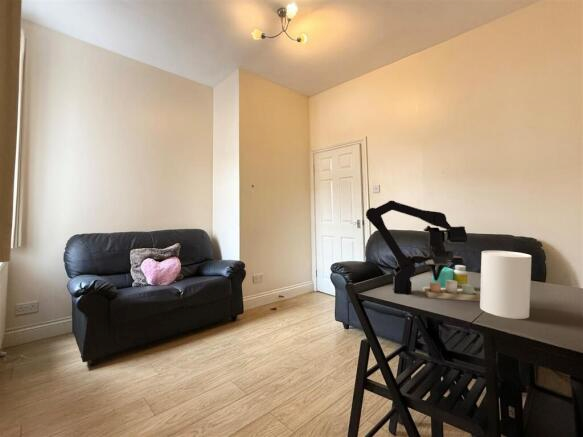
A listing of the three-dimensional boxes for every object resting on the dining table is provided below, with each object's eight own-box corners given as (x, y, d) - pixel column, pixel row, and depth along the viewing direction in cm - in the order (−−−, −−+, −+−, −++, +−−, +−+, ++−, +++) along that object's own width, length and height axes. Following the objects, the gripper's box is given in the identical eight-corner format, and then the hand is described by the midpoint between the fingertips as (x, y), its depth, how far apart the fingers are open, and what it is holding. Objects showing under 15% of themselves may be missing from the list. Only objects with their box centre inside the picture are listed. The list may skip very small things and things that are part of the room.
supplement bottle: (469, 289, 120) (469, 267, 120) (455, 289, 122) (455, 266, 121) (463, 286, 126) (464, 264, 125) (450, 285, 127) (451, 264, 126)
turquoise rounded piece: (431, 286, 125) (432, 269, 125) (433, 282, 132) (433, 266, 132) (452, 289, 121) (452, 271, 121) (452, 285, 128) (453, 268, 127)
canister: (503, 303, 104) (505, 250, 103) (540, 317, 90) (542, 256, 89) (470, 305, 102) (472, 251, 101) (503, 319, 88) (506, 257, 88)
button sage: (464, 296, 110) (464, 286, 110) (460, 293, 114) (460, 283, 114) (475, 297, 109) (475, 287, 109) (471, 294, 113) (471, 284, 113)
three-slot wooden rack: (428, 297, 110) (428, 293, 110) (423, 290, 120) (423, 286, 120) (482, 301, 106) (483, 297, 106) (472, 293, 115) (473, 289, 115)
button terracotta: (430, 294, 113) (431, 284, 113) (428, 291, 117) (428, 281, 117) (441, 294, 112) (442, 285, 112) (439, 291, 116) (439, 282, 116)
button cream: (447, 292, 111) (447, 282, 111) (444, 289, 115) (444, 279, 115) (458, 292, 110) (458, 282, 110) (455, 289, 114) (455, 280, 114)
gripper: (415, 244, 108) (414, 284, 109) (469, 246, 103) (468, 287, 104) (410, 241, 119) (410, 277, 119) (459, 242, 114) (458, 279, 115)
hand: (435, 280), depth 114 cm, fingers closed
